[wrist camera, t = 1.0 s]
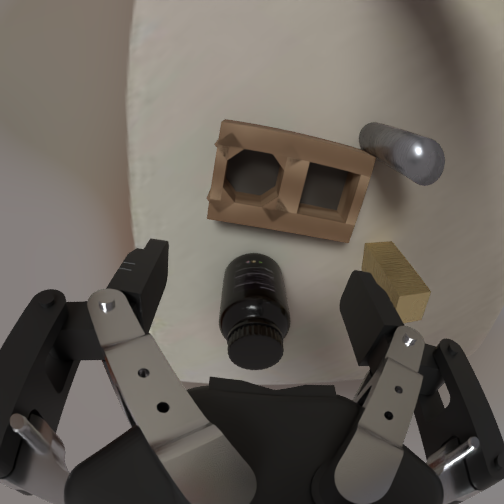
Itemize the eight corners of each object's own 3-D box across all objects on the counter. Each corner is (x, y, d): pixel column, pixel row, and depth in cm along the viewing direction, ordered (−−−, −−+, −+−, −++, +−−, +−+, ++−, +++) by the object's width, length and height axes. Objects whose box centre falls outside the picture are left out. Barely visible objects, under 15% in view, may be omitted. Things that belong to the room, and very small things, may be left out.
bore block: (222, 118, 25) (218, 121, 22) (362, 150, 27) (376, 157, 24) (208, 205, 30) (204, 218, 27) (339, 228, 31) (348, 243, 28)
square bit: (364, 243, 32) (399, 296, 23) (391, 241, 32) (430, 291, 23) (361, 269, 34) (391, 325, 25) (387, 266, 34) (421, 319, 25)
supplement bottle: (281, 298, 36) (291, 376, 25) (225, 298, 36) (218, 377, 25) (284, 250, 32) (299, 326, 22) (222, 250, 32) (211, 326, 22)
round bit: (363, 117, 25) (414, 131, 16) (393, 128, 25) (449, 147, 17) (355, 150, 27) (400, 178, 18) (384, 160, 27) (436, 190, 18)
